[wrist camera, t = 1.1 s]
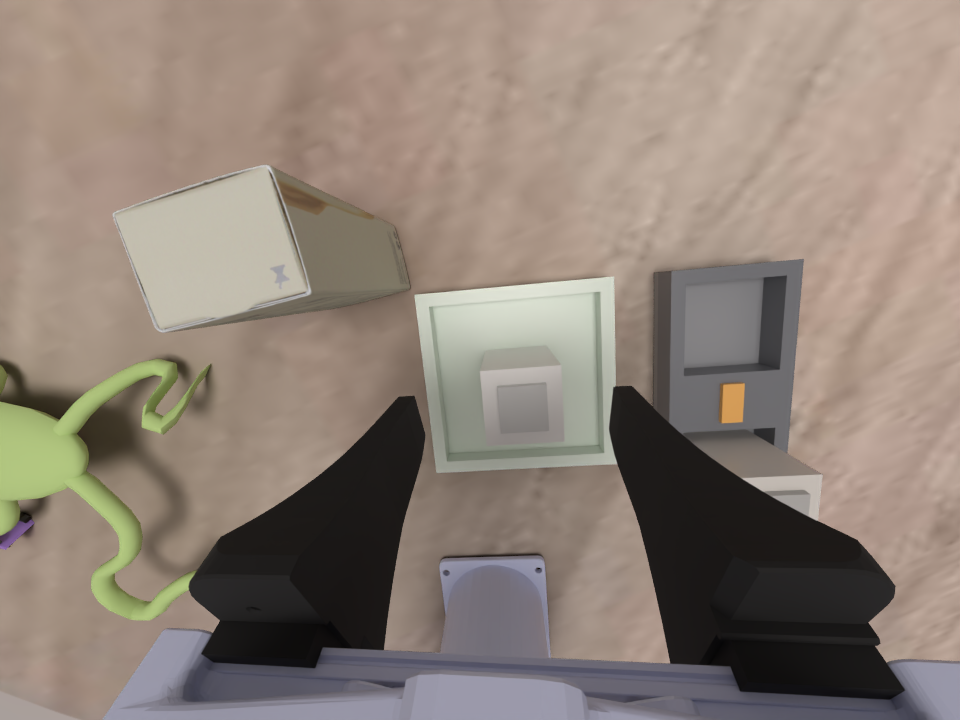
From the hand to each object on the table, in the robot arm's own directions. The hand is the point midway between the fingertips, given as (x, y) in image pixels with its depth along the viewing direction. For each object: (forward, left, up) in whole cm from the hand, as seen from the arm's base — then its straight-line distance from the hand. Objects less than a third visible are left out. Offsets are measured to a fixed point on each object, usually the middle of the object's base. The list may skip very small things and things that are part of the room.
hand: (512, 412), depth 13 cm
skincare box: (+7, +9, -12) cm, 16 cm away
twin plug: (-8, -13, -11) cm, 19 cm away
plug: (-1, -1, -11) cm, 11 cm away
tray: (-1, -1, -11) cm, 11 cm away
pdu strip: (-3, -13, -11) cm, 18 cm away
